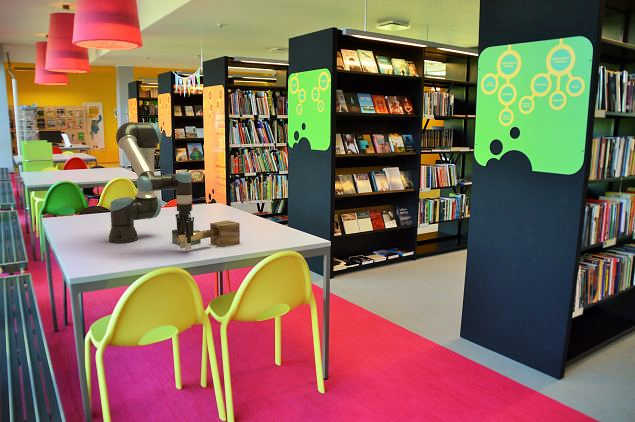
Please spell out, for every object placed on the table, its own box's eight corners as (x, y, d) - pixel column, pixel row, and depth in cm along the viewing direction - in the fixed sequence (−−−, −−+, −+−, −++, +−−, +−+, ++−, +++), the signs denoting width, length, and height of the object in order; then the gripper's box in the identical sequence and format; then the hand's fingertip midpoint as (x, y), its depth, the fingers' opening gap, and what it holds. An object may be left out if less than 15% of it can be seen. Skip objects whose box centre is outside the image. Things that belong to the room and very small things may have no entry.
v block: (172, 242, 271) (171, 230, 270) (188, 239, 278) (187, 227, 277) (184, 246, 263) (184, 233, 262) (200, 243, 270) (200, 230, 269)
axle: (181, 243, 247) (181, 236, 247) (177, 242, 250) (176, 234, 249) (211, 237, 260) (211, 230, 260) (207, 236, 263) (207, 229, 262)
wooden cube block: (210, 244, 269) (210, 223, 267) (228, 240, 277) (228, 220, 275) (221, 247, 262) (221, 225, 260) (239, 243, 271) (239, 222, 269)
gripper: (200, 204, 245) (201, 250, 249) (181, 200, 256) (182, 244, 260) (187, 205, 239) (188, 252, 243) (168, 201, 251) (170, 246, 255)
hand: (185, 248), depth 252 cm, fingers closed on axle, 4 cm apart
